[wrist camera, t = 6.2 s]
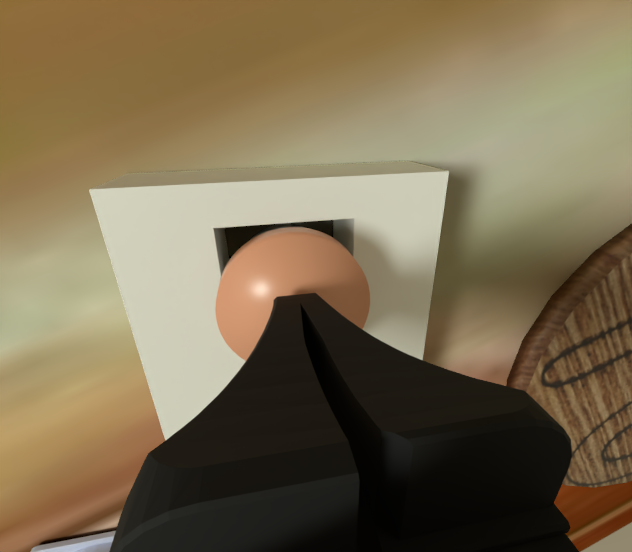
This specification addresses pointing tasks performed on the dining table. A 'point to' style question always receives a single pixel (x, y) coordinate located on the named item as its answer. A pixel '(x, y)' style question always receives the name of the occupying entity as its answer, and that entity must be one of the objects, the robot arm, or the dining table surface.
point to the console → (212, 256)
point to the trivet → (587, 364)
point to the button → (286, 281)
